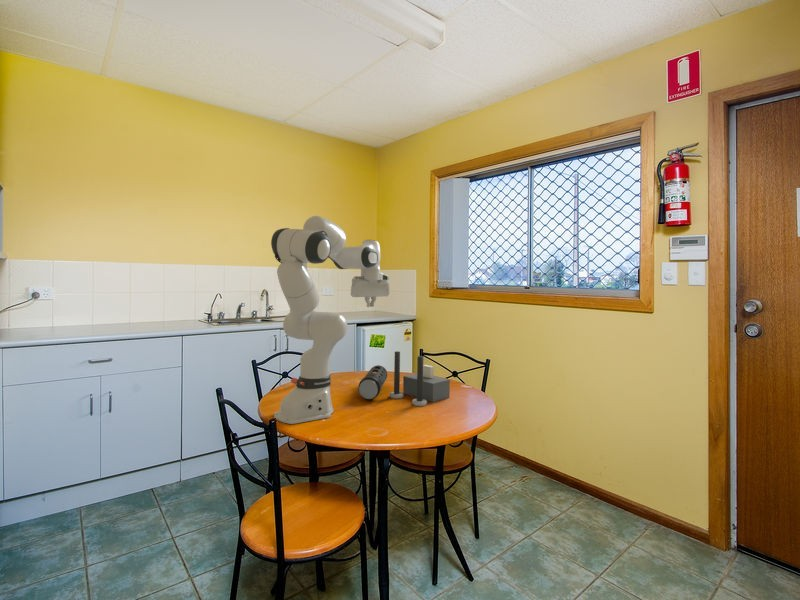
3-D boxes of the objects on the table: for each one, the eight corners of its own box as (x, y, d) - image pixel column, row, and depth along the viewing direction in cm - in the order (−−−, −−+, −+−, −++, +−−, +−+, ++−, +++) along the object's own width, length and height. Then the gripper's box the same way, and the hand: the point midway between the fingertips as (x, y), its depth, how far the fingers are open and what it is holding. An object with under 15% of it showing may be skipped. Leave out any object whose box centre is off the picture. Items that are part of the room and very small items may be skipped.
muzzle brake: (387, 386, 202) (388, 365, 201) (379, 403, 174) (379, 378, 173) (368, 385, 203) (368, 364, 202) (356, 402, 175) (357, 378, 174)
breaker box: (432, 402, 176) (433, 383, 175) (403, 393, 189) (403, 376, 188) (449, 397, 183) (449, 379, 183) (419, 389, 196) (420, 372, 196)
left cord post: (396, 399, 179) (397, 353, 178) (387, 396, 183) (387, 351, 182) (406, 397, 183) (407, 352, 182) (396, 394, 187) (397, 350, 186)
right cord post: (419, 407, 169) (420, 358, 168) (409, 403, 173) (410, 356, 172) (429, 404, 173) (430, 356, 172) (419, 401, 177) (420, 354, 176)
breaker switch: (430, 378, 184) (430, 367, 184) (422, 376, 187) (422, 365, 187) (433, 377, 185) (433, 366, 185) (425, 375, 189) (425, 364, 189)
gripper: (356, 276, 178) (356, 308, 179) (391, 276, 192) (391, 306, 193) (347, 276, 183) (347, 307, 184) (382, 276, 197) (382, 305, 198)
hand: (370, 306), depth 188 cm, fingers closed
